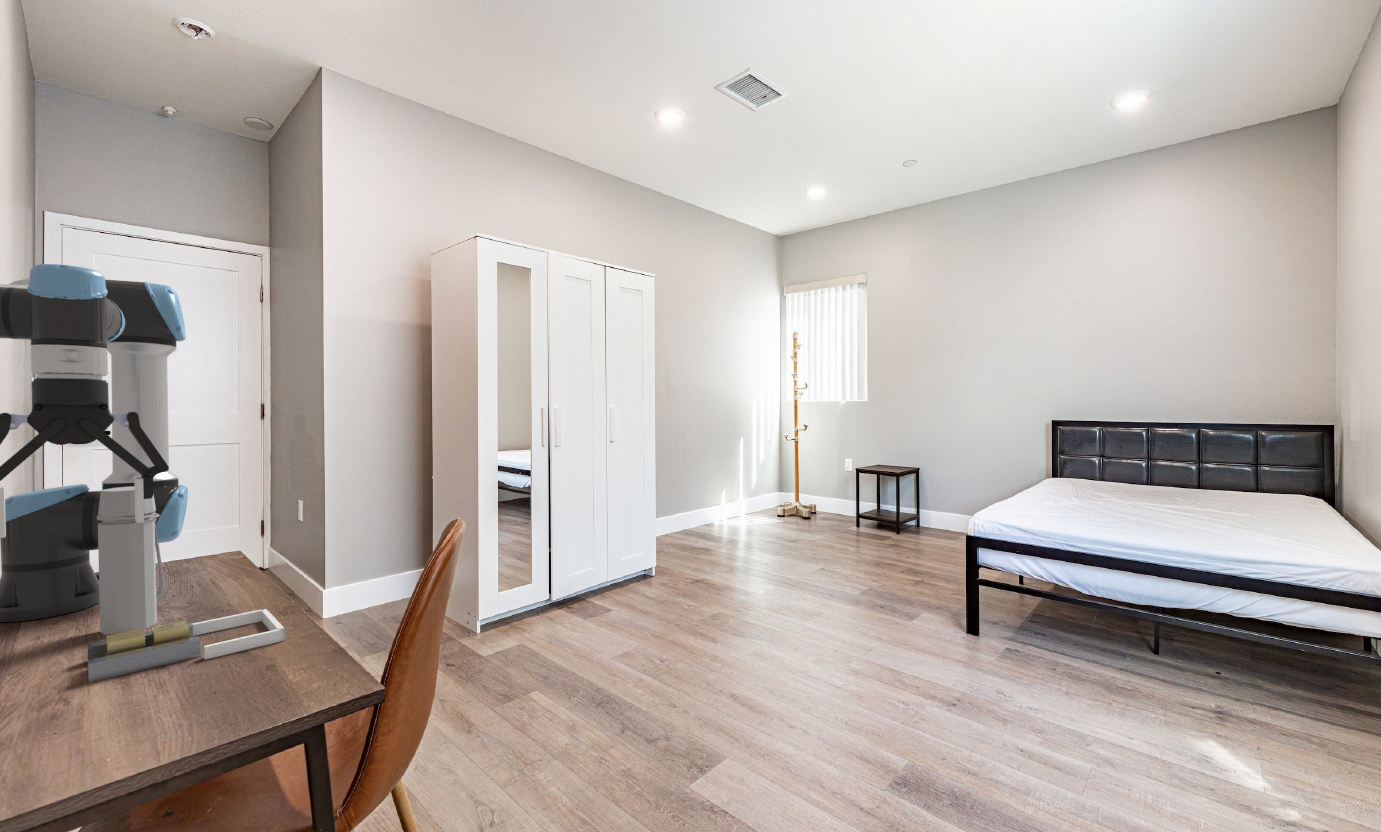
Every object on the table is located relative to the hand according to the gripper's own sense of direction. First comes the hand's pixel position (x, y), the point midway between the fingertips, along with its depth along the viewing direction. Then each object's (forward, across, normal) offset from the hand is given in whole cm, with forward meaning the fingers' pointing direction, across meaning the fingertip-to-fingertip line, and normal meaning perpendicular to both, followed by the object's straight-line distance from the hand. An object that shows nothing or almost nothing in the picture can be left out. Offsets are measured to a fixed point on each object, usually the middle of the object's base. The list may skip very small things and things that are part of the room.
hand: (74, 528), depth 85 cm
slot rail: (+22, +7, 0) cm, 23 cm away
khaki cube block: (+21, +10, 0) cm, 23 cm away
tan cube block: (+21, +5, 0) cm, 21 cm away
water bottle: (+22, +8, +20) cm, 31 cm away
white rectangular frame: (+22, +18, 0) cm, 29 cm away
